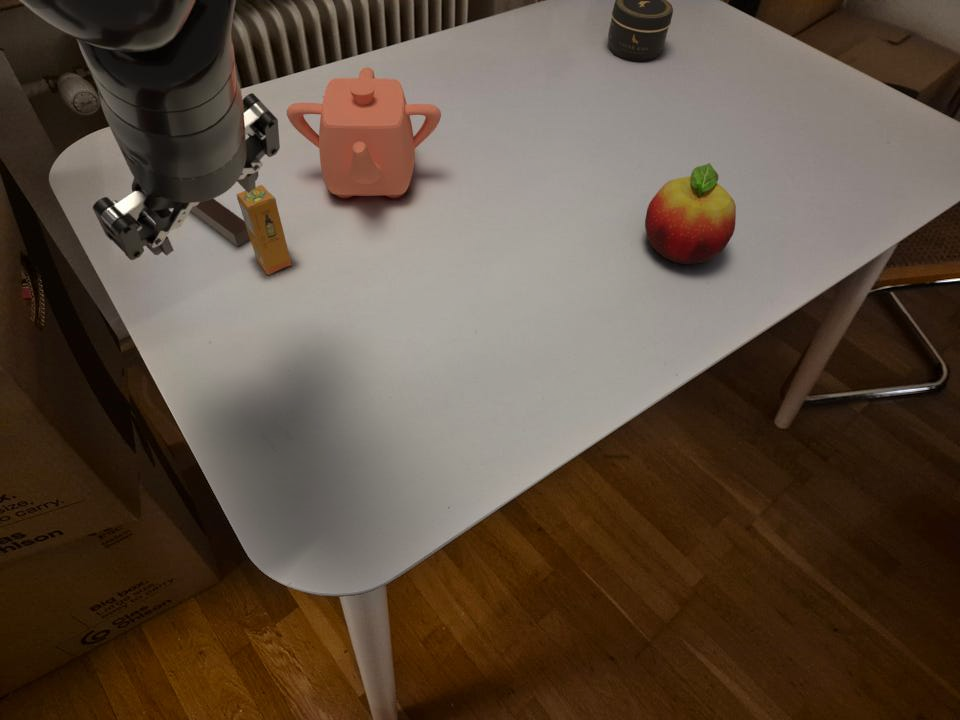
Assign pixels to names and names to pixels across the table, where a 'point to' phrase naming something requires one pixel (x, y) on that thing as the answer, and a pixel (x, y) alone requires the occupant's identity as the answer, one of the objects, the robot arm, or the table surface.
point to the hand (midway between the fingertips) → (203, 212)
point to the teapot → (365, 135)
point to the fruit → (691, 217)
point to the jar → (639, 28)
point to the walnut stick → (222, 221)
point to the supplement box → (264, 229)
